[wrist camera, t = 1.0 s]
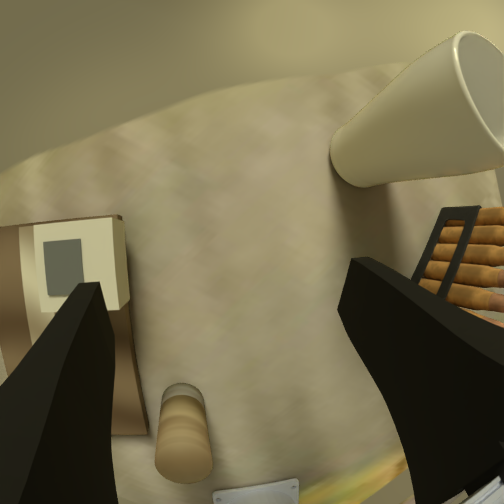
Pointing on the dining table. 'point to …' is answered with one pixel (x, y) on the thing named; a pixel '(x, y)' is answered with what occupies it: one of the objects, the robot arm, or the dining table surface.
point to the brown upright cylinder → (183, 436)
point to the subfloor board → (34, 321)
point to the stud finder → (81, 260)
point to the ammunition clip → (465, 259)
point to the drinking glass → (429, 118)
